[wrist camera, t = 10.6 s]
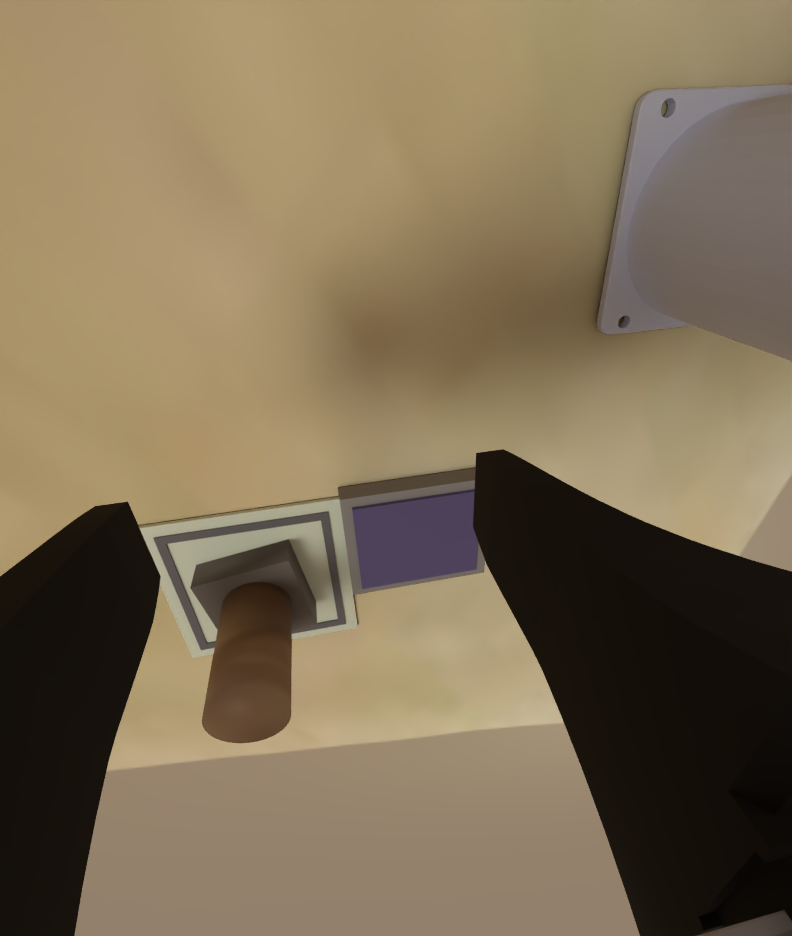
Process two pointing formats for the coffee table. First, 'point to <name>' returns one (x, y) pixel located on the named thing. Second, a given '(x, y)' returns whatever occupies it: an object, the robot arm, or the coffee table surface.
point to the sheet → (226, 534)
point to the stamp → (252, 638)
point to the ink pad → (410, 530)
